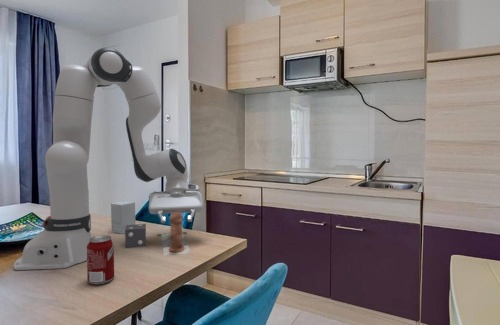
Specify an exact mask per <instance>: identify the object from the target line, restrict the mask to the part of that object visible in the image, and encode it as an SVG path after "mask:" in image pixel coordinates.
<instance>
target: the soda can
mask: <svg viewBox="0 0 500 325" xmlns="http://www.w3.org/2000/svg"><path fill="white" fill-rule="evenodd" d="M89 241H90V242H89V243H88V245H87V260H86V272H87V273H86V275H87V277H86V279H87V283H89V284H91V285H96V286H99V285H104V284H107V283H109V282H110V281H112V280H113V279H114V278H115V243H114V241H113V240H112V236H110V235H98V236H93V237H92V236H91V238H90V239H89Z"/></svg>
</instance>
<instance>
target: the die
mask: <svg viewBox="0 0 500 325" xmlns="http://www.w3.org/2000/svg"><path fill="white" fill-rule="evenodd" d="M124 234H125V240H124V241H125V249H128V248H129V249H131V248H140V247H141V248H142V247H143V248H144V247H146V246H147V225H146V223H139V224H137V223H135V225H126V229H125V233H124Z"/></svg>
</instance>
